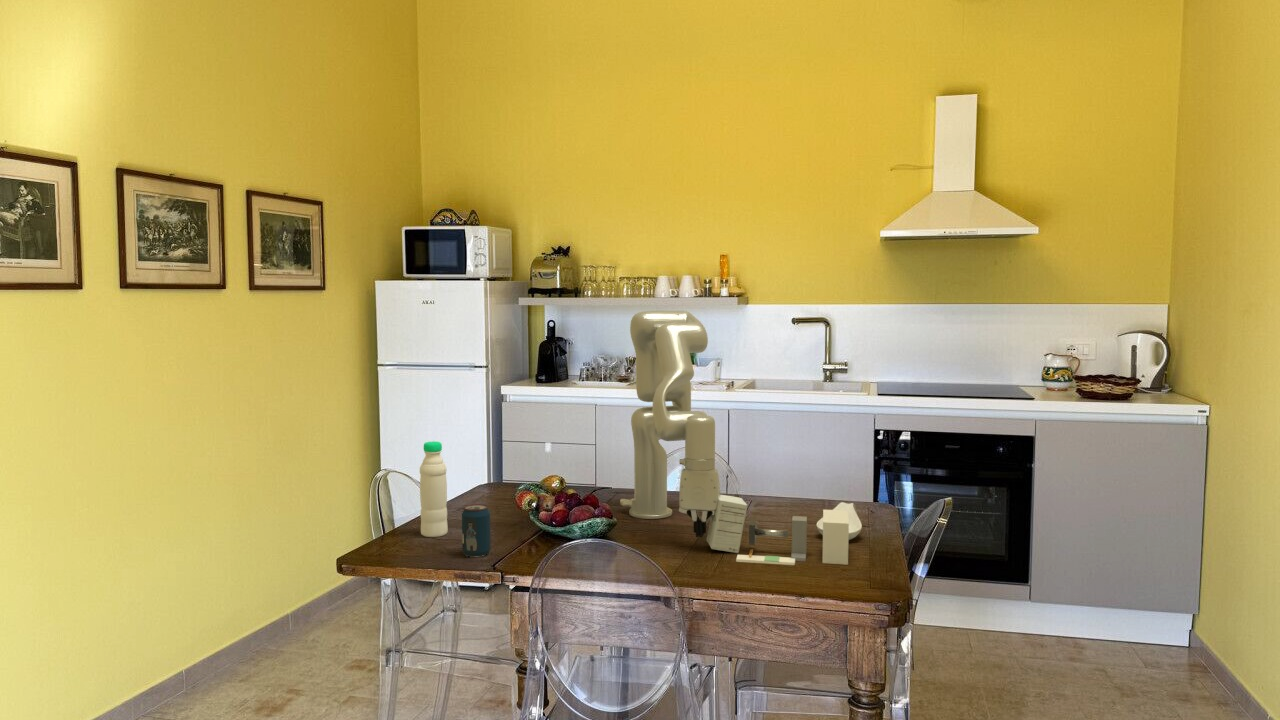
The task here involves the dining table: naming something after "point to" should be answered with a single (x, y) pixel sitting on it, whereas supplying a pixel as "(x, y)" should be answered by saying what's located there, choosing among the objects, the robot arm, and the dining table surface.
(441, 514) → the cream plastic bottle
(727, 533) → the supplement box
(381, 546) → the dining table surface
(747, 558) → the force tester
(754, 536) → the plunger
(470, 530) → the soda can
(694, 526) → the robot arm
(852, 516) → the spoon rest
